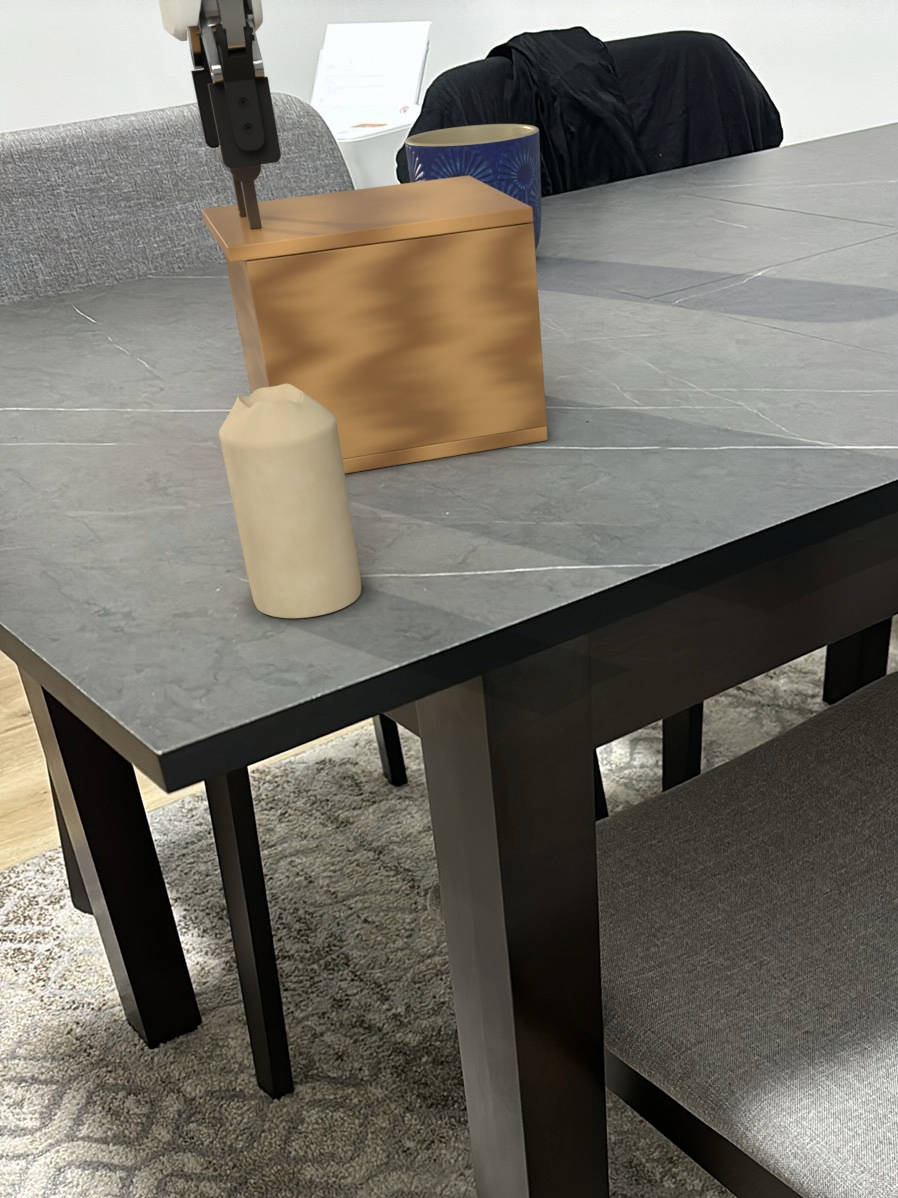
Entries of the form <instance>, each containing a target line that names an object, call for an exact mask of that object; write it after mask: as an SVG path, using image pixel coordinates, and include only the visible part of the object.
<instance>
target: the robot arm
mask: <svg viewBox="0 0 898 1198" xmlns="http://www.w3.org/2000/svg"><path fill="white" fill-rule="evenodd" d="M158 4H159V5H158V6H159V11H160V16H161V22H162V26H163V29H164V30H165V32H167V33H168V34H169V35H171V36H172V37H173V38H175V39H176V40H178V41H179V42H186V41H188V44H189V45H188V46H189V52H190V57H191V62H192V66H193V67H192V68H193V70H190V72H191V78H192V83H193V88H194V93H195V99H196V103H197V109H198V113H199V119H200V123H201V129H202V134H203V139H204V142H205V144H206V145H207V146H208V148H211V149H218V148H219V145H220V150H221V155H222V160H223V163H224V164H225V165H226V166H227V167H228V168H238V167H245V166H253V165H260V164H261V165H268V164H273V163H274V164H275V163H278V162H279V161H280V160H281V156H282V153H281V147H280V146H281V145H280V142H279V141H280V140H279V135H278V128H277V124H276V123H277V122H276V117H275V111H274V106H273V100H272V94H271V88H270V82H269V77H268V76H265V67H264V62H263V57H262V52H261V50H260V46H259V45H260V44H259V41H258V37H257V33H256V32H257V31H258V30H259V29H260V27H261V26H262V24H263V22H264V15H263V13H264V12H263V5H262V4H263V2H262V0H158Z"/></svg>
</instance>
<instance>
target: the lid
mask: <svg viewBox="0 0 898 1198" xmlns="http://www.w3.org/2000/svg"><path fill="white" fill-rule="evenodd" d="M217 154H218V159H219V161H220V163H221V164H222V166H223V167H224V168H225V169H226V170H227V171H228V172H229V173H230V175H231V181H232V185H233V191H234V196H235V197H234V198H235V202H236V204H231V205H224V206H216V207H207V208H202V209H201V213H202V219H203V223H204V224H205V226H206V228H207V229H208V230H209V232H210V233H211V235H212V236H213V238H214V240H215V241H216V242H217V244H218V245H219V247H220V249H221V250H222V252H223V254H224V253H225V254H224V256H225V255H226V256H227V258H228V259H229V261H230V262H239V261H246V260H254V259H261V258H269V257H276V256H284V255H291V254H299V253H306V252H314V251H321V250H329V249H336V248H344V247H351V246H359V245H366V244H373V243H381V242H388V241H396V240H403V239H411V238H418V237H426V236H433V235H441V234H448V233H456V232H463V231H471V230H478V229H486V228H493V227H501V226H508V225H515V224H523V223H530V222H533V210H532V207H531V206H529V205H527V204H525V203H523V202H521V201H519V200H517V199H515V198H513V197H511V196H509V195H507V194H505V193H503V192H501V191H499V190H497V189H495V188H493V187H491V186H489V185H487V184H485V183H483V182H481V181H479V180H477V179H475V178H473V177H471V176H461V177H453V178H445V179H437V180H429V181H421V182H413V183H411V182H407V183H398V184H390V185H383V186H382V185H381V186H375V187H365V188H359V189H358V188H357V189H351V190H343V191H335V192H327V193H318V194H310V195H303V196H295V197H288V198H287V197H286V198H279V199H272V200H271V199H270V200H264V201H263V200H262V201H258V197H257V190H256V185H255V181H256V180H257V179H258V178H259V176H260V175H261V171H262V164H260V165H253V166H245V167H238V168H228V167H227V166H226V165H225V164H224V163H223V160H222V155H221V150H220V145H219V147H218V148H217Z"/></svg>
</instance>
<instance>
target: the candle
mask: <svg viewBox="0 0 898 1198" xmlns="http://www.w3.org/2000/svg"><path fill="white" fill-rule="evenodd" d="M218 436H219V441H220V445H221V451H222V455H223V456H222V457H223V461H224V465H225V470H226V475H227V481H228V485H229V490H230V494H231V501H232V505H233V509H234V515H235V519H236V524H237V529H238V534H239V539H240V543H241V549H242V554H243V559H244V564H245V569H246V573H247V579H248V583H249V587H250V592H251V597H252V600H253V603H254V605H255V608H256V609H257V610H258V611H259V612H261V613H263V614H265V615H268V616H271V617H273V618H282V619H304V618H305V619H306V618H312V617H318V616H323V615H327V614H331V613H333V612H337V611H339V610H342V609H344V608H346V607H347V606H350V605H352V604H353V603H354V602H355V601H357V600H358V599H359V597H360V595H361V593H362V579H361V573H360V564H359V558H358V551H357V545H356V539H355V532H354V526H353V520H352V514H351V513H352V512H351V507H350V506H351V505H350V500H349V493H348V487H347V481H346V474H345V473H344V467H343V460H342V454H341V447H340V441H339V434H338V428H337V421H336V417H335V416H334V414H332V413H331V412H330V411H329V410H328V409H327V408H325V407H324V406H323V405H322V404H320V403H319V402H317V401H316V400H314V399H313V398H311V397H310V396H308V395H307V394H306V393H304V392H303V391H301V390H299V389H298V388H296V387H295V386H293V385H291V384H282V385H279V386H274V387H264V388H259V389H257V390H255V391H254V392H253V393H252V394H251V393H250V395H247V396H244V395H238V396H237V397H236V400H235V401H234V404H233V406H232V408H231V410H230V411H229V413H228V415H227V417H226V418H225V420H224V422H223V423H222V424H221V427H220V428H219V430H218Z"/></svg>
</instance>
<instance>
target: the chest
mask: <svg viewBox="0 0 898 1198" xmlns="http://www.w3.org/2000/svg"><path fill="white" fill-rule="evenodd" d="M223 255H224V259H225V265H226V269H227V270H226V271H227V275H228V281H229V286H230V290H231V295H232V296H231V297H232V301H233V307H234V313H235V317H236V322H237V327H238V332H239V333H238V334H239V338H240V344H241V348H242V349H241V350H242V354H243V360H244V364H245V365H244V366H245V369H246V374H247V375H246V376H247V380H248V381H247V382H248V387H249V391H250V395H251V394H252V393H253V392H254V391H255V390H257V389H259V388H264V387H274V386H279V385H282V384H291V385H293V386H295V387H296V388H298V389H299V390H301V391H303V392H304V393H306V394H307V395H308V396H310V397H311V398H313V399H314V400H316V401H317V402H319V403H320V404H322V405H323V406H324V407H325V408H327V409H328V410H329V411H330V412H331V413H332V414H334V416H335V417H336V421H337V428H338V434H339V441H340V447H341V454H342V460H343V467H344V473H345V475H346V474H352V473H358V472H365V471H371V470H377V469H383V468H388V467H394V466H400V465H407V464H413V463H419V462H426V461H430V460H437V459H443V458H449V457H455V456H462V455H467V454H474V453H478V452H479V453H480V452H486V451H492V450H498V449H504V448H509V447H515V446H521V445H528V444H533V443H540V442H546V441H548V423H547V422H548V421H547V407H546V405H547V404H546V391H545V376H544V362H543V347H542V345H543V344H542V332H541V331H542V330H541V318H540V317H541V316H540V315H541V313H540V301H539V286H538V285H539V284H538V271H537V257H536V251H535V239H534V224H533V223H531V222H530V223H523V224H515V225H508V226H501V227H493V228H486V229H478V230H471V231H463V232H456V233H448V234H441V235H433V236H426V237H418V238H411V239H403V240H396V241H388V242H381V243H373V244H366V245H359V246H351V247H344V248H336V249H329V250H321V251H314V252H306V253H299V254H291V255H284V256H276V257H269V258H261V259H254V260H246V261H239V262H230V261H229V259H228V258H227V256H226V255H225V253H224V252H223Z"/></svg>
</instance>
